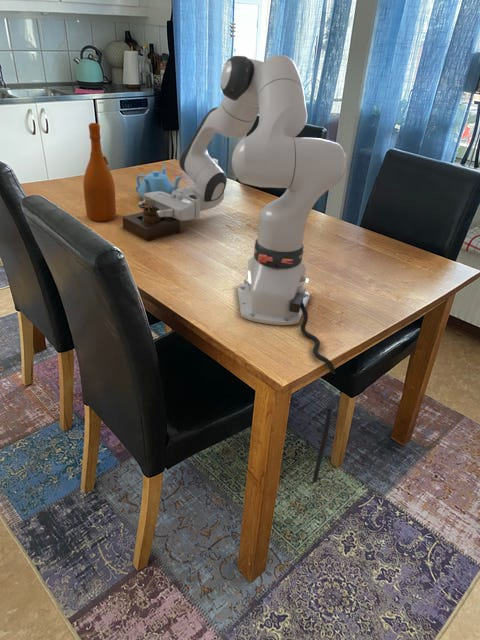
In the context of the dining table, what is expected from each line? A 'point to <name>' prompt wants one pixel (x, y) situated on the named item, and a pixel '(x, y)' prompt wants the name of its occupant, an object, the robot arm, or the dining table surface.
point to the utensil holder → (150, 212)
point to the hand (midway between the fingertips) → (148, 209)
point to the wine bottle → (98, 182)
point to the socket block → (150, 226)
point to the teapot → (156, 183)
